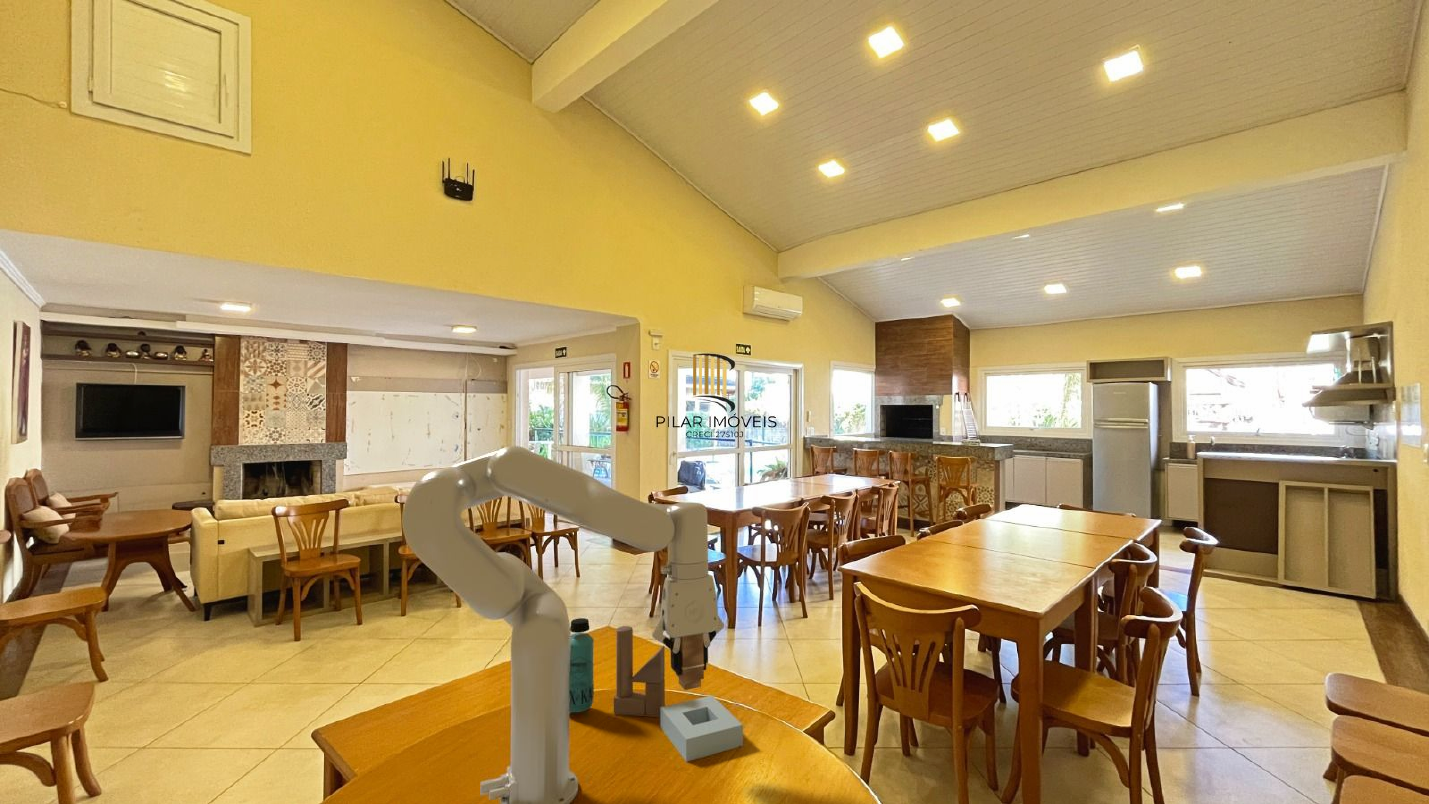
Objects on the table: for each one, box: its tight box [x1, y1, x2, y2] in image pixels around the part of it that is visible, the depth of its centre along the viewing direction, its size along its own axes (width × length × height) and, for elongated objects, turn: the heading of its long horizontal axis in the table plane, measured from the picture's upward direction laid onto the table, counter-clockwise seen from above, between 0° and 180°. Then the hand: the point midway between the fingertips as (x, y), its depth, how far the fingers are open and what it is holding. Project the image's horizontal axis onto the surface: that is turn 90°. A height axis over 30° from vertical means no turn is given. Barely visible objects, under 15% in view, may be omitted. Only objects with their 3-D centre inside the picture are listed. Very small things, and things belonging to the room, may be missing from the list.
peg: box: [675, 634, 705, 691], centre depth 103 cm, size 4×4×10 cm
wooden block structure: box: [613, 625, 666, 719], centre depth 123 cm, size 4×11×18 cm, turn 81°
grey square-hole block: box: [659, 695, 744, 762], centre depth 113 cm, size 12×14×4 cm
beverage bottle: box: [569, 617, 595, 713], centre depth 123 cm, size 6×7×20 cm
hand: (689, 669), depth 103 cm, fingers closed on peg, 4 cm apart
